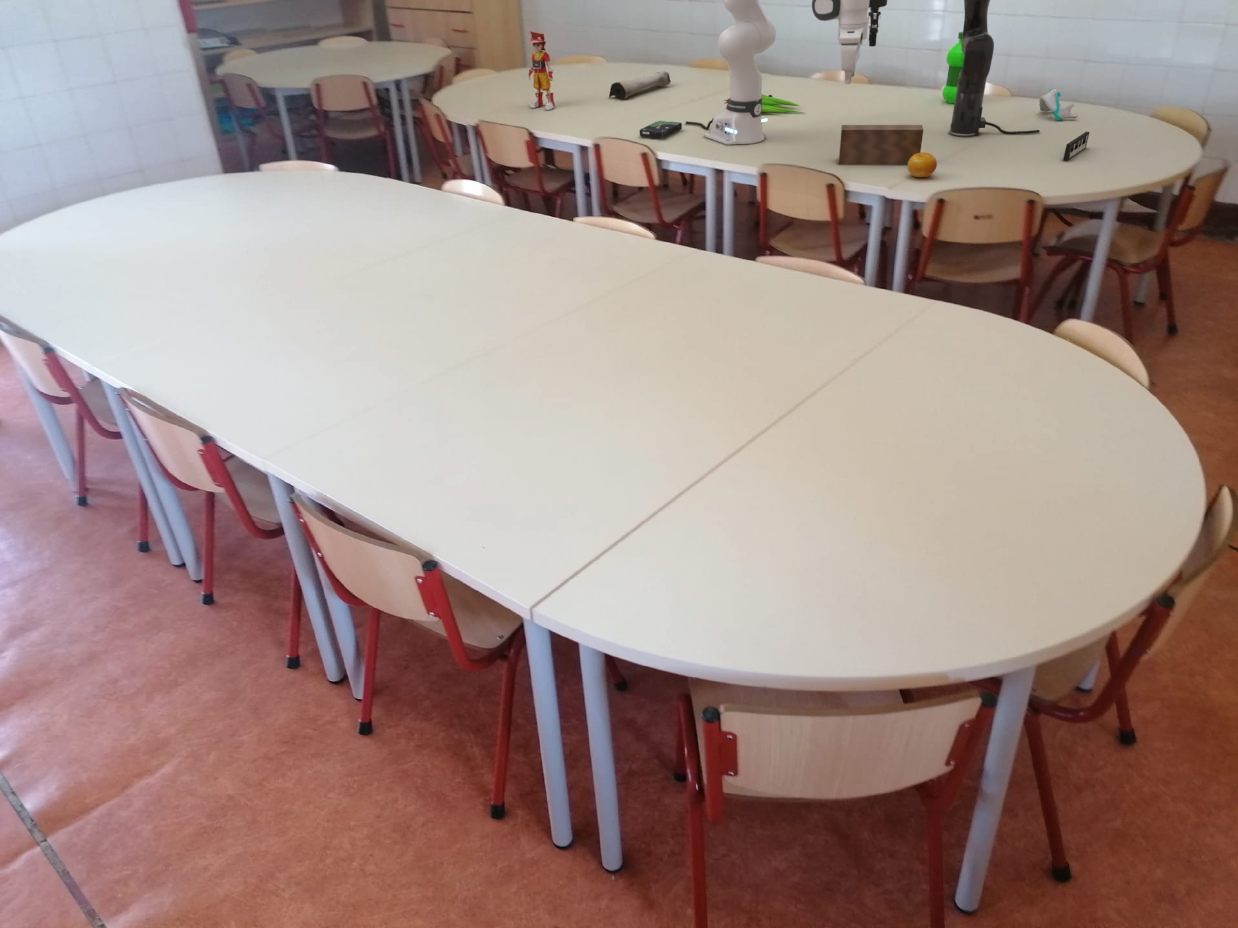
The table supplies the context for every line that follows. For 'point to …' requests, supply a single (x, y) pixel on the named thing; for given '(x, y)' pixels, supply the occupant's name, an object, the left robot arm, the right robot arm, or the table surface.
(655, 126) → the disk drive
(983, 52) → the right robot arm
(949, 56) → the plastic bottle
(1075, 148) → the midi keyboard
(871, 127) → the box
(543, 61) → the toy
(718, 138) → the left robot arm
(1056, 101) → the white and teal piece
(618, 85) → the rolled mat
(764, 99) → the toy
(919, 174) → the fruit
